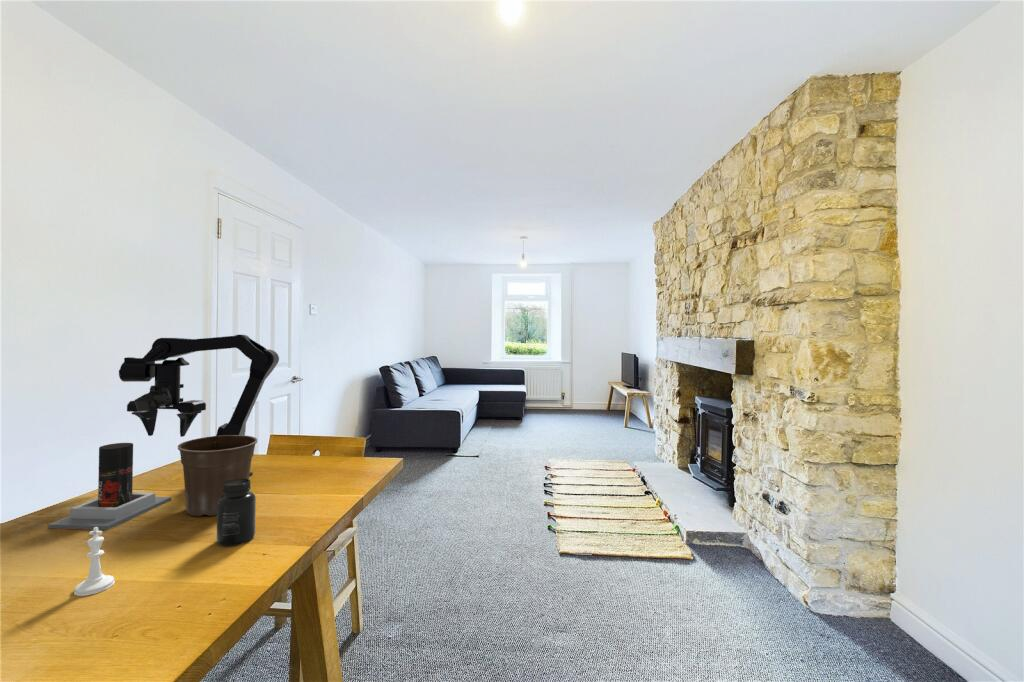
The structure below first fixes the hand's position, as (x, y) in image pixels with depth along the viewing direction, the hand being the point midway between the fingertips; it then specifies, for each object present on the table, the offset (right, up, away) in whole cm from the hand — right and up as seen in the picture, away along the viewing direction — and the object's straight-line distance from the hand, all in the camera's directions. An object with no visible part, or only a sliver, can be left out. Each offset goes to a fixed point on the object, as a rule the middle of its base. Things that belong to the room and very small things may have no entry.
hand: (166, 436), depth 123 cm
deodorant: (+5, -13, -22) cm, 26 cm away
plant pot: (+26, -14, -17) cm, 35 cm away
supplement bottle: (+41, -14, -33) cm, 55 cm away
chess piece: (+29, -14, -51) cm, 61 cm away
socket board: (+5, -13, -22) cm, 26 cm away
